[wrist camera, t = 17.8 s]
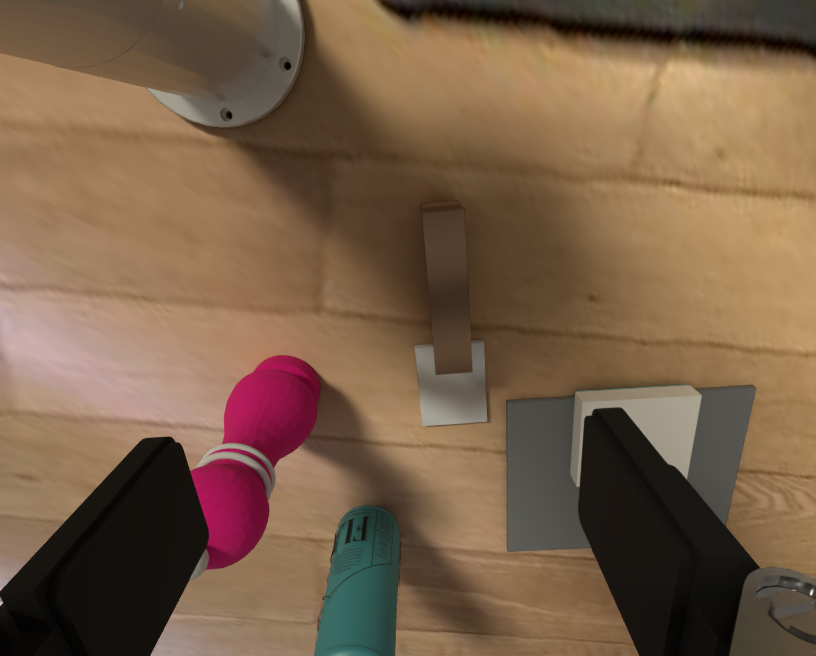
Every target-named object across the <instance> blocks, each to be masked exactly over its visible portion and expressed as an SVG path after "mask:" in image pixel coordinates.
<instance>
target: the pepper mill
mask: <svg viewBox="0 0 816 656" xmlns="http://www.w3.org/2000/svg"><path fill="white" fill-rule="evenodd" d="M319 395H320V383H319V379H318V377H317V375H316V373H315V372H314V370H313V369H312V368H311V367H310V366H309V365H308V364H307V363H305V362H304V361H302V360H300V359H298V358H295V357H292V356H285V355H279V356H274V357H270V358H268V359H266V360H264V361H263V362H262V363H260V364H259V365H258V366H257V368H256V369H255V370H254V372H253V373H251V374H249V375H247V376H246V377H244V378H243V379H242V380H241V381H240V382H238V383H237V385H236V386H235V388H234V389H233V391H232V393H231V394H230V396H229V399H228V401H227V405H226V409H225V413H224V439H223V442H222V444H221V445H218V446H216V447H214V448H212V449H211V450H209V451H208V452H207V453H206V454H205V455H204V456H203V458H202V460H201V462H200V463H199V464H198V465H197V467H196V469H194V470H192V471H190V472H191V475H192V478H193V482H194V485H195V488H196V491H197V494H198V497H199V500H200V504H201V507H202V510H203V513H204V516H205V519H206V522H207V526H208V529H209V540H208V544H207V547H206V549H205V551H204V553H203V555H202V557H201V558H200V560H199V562H198V564H197V566H196V568H195V570H194V572H193V574H192V576H191V578H190V580H193V579H195V578H197V577H198V576H200V575H201V574H202V573H203V572H204V571H205V569H206V570H209V569H218V568H224V567H227V566H229V565H232V564H234V563H236V562H238V561H239V560H241V559H242V558H244V557H245V556H246V555H247V554H248V553H249V552H250V551H251V550H252V549H253V548H254V547H255V546H256V545H257V543H258V542H259V540H260V539H261V537H262V535H263V533H264V531H265V529H266V525H267V522H268V517H269V503H268V500H269V498H270V495H271V492H272V491H273V488H274V485H275V479H276V478H275V471H274V467H275V465H276V464H277V462H278V460H279V459H281V458H283V457H285V456H286V455H288V454H290V453H291V452H293V451H294V450H296V449H297V448H298V447H299V446H300V445H301V444H302V443H303V442H304V441H305V440H306V439H307V438H308V436H309V434H310V433H311V431H312V429H313V427H314V425H315V422H316V418H317V401H318V399H319Z"/></svg>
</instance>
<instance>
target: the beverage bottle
mask: <svg viewBox="0 0 816 656" xmlns="http://www.w3.org/2000/svg"><path fill="white" fill-rule="evenodd" d="M340 521H341V522H340V524H339V526H338V527H339V528H338V530H336V531H338V532H336V534H337V536H336V534H335V539H334V540H335V542H334V549H333V551H332V555H333V558H332V555H331V558H332V559H330V561H331V562H332V563H331V568H330V573H329V578H328V581H327V582H328V583H327V589H326V594H325V599H323V600H324V604H323V608H322V607H321V609H320V610H322V614H320V615H321V619H320V624H319V623H318V624H319V626H318V624H317V626H318V628H319V629H318V628H317V631H318V637H317V642H316V648H315V653H314V656H395V642H396V612H397V601H398V600H397V593H398V580H399V579H400V578H399V579H398V572H399V569H400V568H399V563H400V562H399V561H400V559H401V554H400V553H399V549H401V548H399V544H400V542H401V541H400V530H399V526H398V523H397V521H396V519H395V517H394V516H393V515H392V514H391V513H390V512H388V511H387V510H385V509H383V508H380V507H377V506H369V505H365V506H359V507H356V508H354V509H352V510H350V511H349V512H347V513H346V514H345V515H344V517H343V518H342V519H341V520H340ZM336 537H337V538H336ZM400 546H401V545H400ZM400 551H401V550H400ZM399 554H400V555H399ZM399 556H400V559H399ZM399 573H400V572H399ZM399 575H400V574H399ZM399 577H400V576H399ZM399 583H400V582H399ZM399 586H400V585H399ZM398 597H399V596H398ZM323 598H324V597H323ZM321 605H322V604H321ZM319 618H320V617H319ZM318 621H319V619H318Z"/></svg>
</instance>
